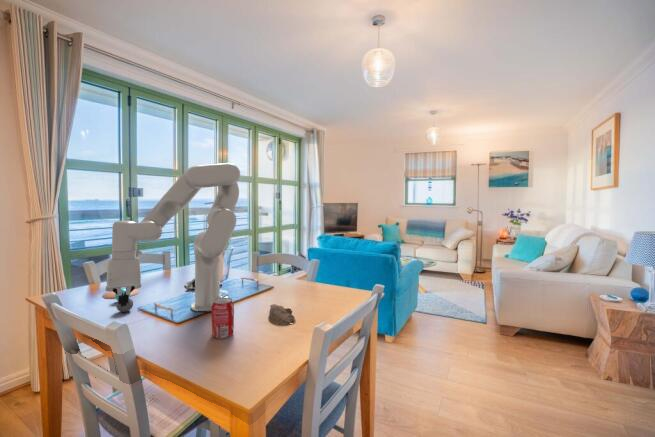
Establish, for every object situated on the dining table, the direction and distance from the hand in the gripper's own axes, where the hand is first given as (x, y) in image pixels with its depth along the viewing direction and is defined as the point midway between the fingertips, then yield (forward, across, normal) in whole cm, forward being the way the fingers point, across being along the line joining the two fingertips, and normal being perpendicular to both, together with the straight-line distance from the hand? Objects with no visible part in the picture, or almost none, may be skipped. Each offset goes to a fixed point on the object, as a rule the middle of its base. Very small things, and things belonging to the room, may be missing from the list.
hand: (123, 305), depth 109 cm
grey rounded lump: (+3, -1, -10) cm, 10 cm away
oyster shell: (+4, -49, +30) cm, 58 cm away
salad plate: (+5, -36, -29) cm, 46 cm away
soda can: (+5, -26, +31) cm, 41 cm away
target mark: (+6, -1, -36) cm, 36 cm away
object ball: (+3, -1, -24) cm, 24 cm away
